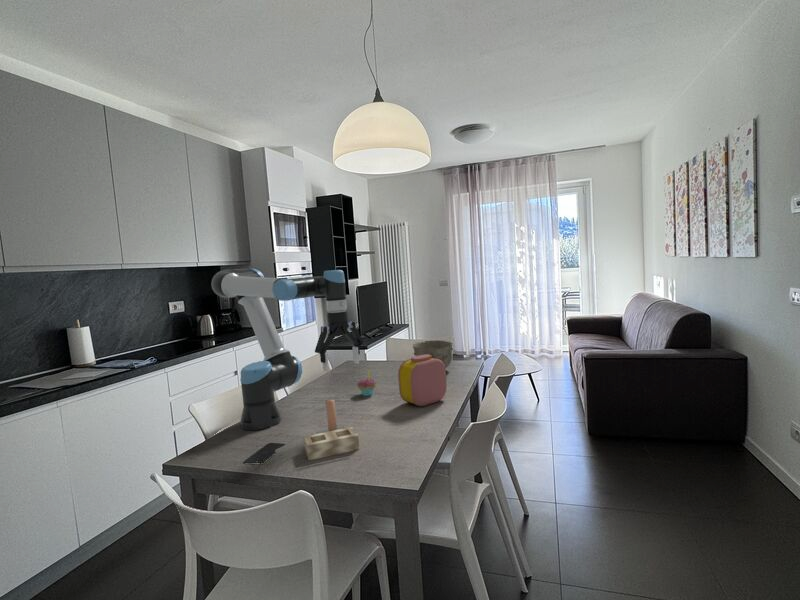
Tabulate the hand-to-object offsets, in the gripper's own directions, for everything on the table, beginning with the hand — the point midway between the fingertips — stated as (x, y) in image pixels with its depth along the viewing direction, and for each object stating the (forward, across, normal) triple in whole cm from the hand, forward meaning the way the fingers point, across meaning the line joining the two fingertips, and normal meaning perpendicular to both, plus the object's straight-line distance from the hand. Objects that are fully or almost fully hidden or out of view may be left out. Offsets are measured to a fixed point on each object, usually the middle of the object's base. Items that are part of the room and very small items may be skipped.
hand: (341, 367), depth 163 cm
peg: (+21, -11, -8) cm, 25 cm away
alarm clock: (+21, +34, -8) cm, 41 cm away
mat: (+21, -11, -8) cm, 25 cm away
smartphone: (+22, -34, -4) cm, 40 cm away
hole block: (+21, -18, -19) cm, 34 cm away
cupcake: (+21, +26, +21) cm, 39 cm away
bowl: (+21, +73, +24) cm, 80 cm away
